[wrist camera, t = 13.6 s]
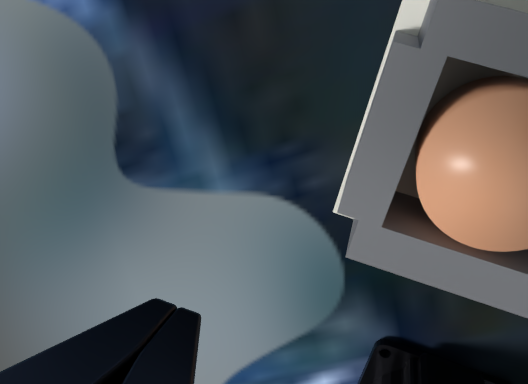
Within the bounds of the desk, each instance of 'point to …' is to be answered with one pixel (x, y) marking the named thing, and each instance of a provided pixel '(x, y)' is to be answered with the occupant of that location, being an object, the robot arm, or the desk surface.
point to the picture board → (404, 139)
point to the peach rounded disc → (477, 164)
